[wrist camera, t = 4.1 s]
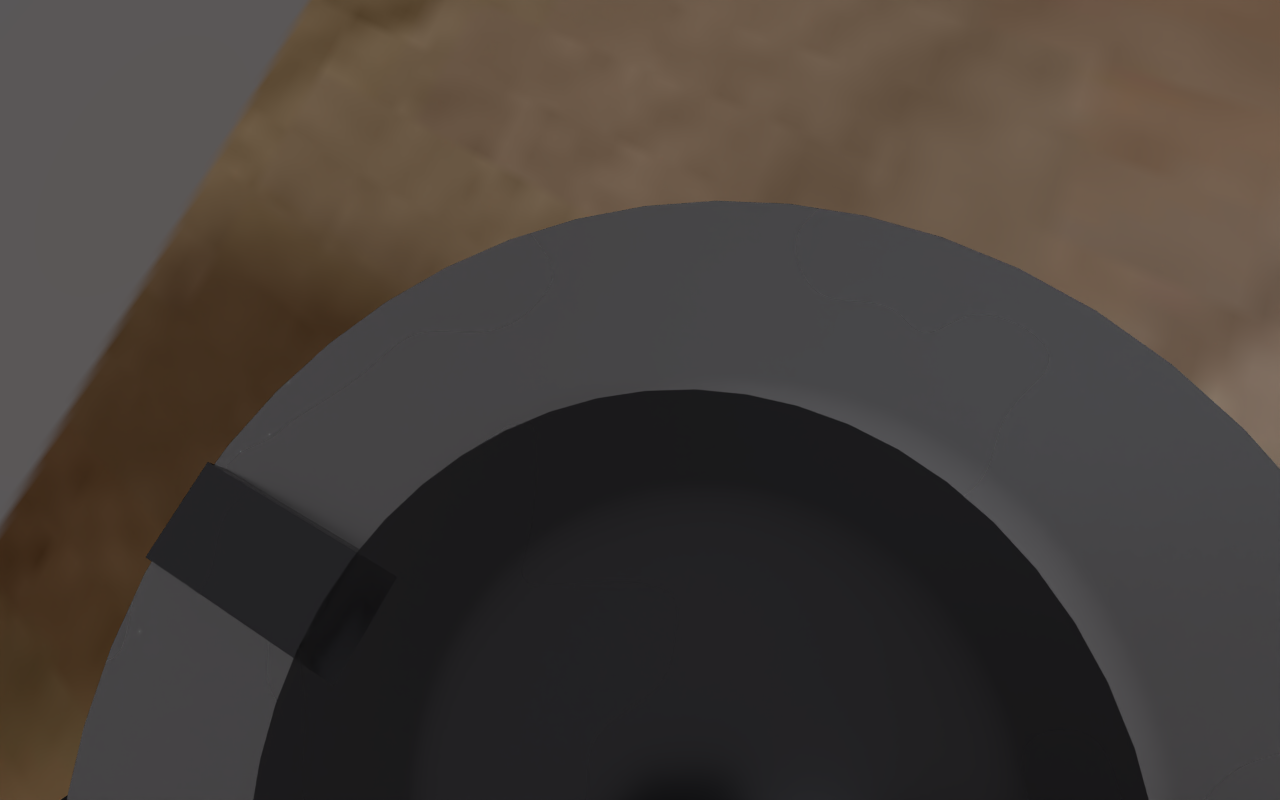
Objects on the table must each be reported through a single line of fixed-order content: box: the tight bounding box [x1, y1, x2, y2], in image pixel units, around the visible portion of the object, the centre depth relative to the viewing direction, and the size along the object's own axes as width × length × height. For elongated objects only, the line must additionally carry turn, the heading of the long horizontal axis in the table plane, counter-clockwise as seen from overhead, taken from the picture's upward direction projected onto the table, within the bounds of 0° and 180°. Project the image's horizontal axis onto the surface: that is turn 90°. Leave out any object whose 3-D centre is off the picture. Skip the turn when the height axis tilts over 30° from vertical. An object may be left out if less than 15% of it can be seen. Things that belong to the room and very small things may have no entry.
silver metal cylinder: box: [67, 201, 1280, 800], centre depth 9 cm, size 6×6×11 cm
